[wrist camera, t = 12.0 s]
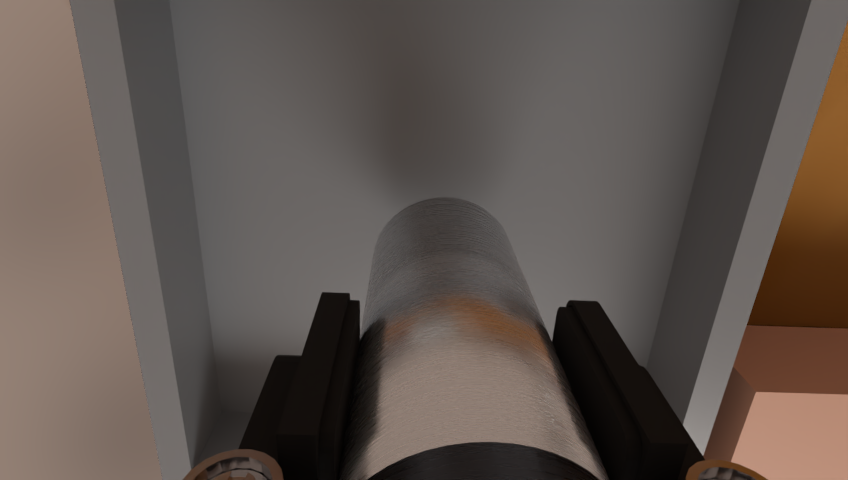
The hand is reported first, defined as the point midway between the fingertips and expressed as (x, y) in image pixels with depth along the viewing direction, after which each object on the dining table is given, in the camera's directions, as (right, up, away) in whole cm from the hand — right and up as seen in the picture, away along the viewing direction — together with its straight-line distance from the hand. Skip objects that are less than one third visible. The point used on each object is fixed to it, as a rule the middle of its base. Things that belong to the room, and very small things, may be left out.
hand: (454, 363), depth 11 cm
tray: (0, +3, +8) cm, 8 cm away
